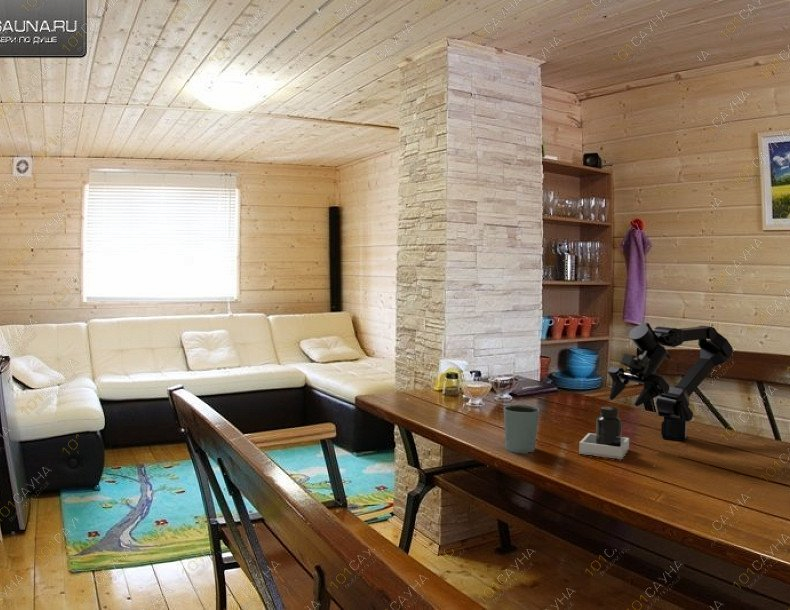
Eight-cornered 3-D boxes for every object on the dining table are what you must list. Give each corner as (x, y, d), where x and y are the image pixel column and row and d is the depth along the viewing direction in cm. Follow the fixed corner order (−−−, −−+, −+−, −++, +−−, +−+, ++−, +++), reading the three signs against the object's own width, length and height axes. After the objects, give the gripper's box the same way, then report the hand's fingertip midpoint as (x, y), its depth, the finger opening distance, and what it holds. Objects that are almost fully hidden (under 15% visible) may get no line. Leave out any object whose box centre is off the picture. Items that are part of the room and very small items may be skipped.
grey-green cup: (496, 446, 198) (497, 405, 197) (526, 442, 201) (527, 403, 200) (514, 455, 188) (515, 413, 187) (545, 451, 192) (546, 410, 191)
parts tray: (628, 449, 194) (629, 438, 193) (621, 460, 184) (622, 447, 183) (588, 444, 199) (588, 433, 199) (579, 454, 189) (579, 442, 189)
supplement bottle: (623, 453, 186) (624, 411, 185) (597, 453, 187) (598, 410, 186) (618, 447, 193) (619, 405, 192) (594, 446, 194) (594, 405, 193)
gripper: (612, 339, 204) (585, 379, 199) (664, 347, 188) (635, 391, 183) (629, 363, 208) (603, 402, 204) (681, 372, 192) (654, 415, 188)
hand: (622, 402), depth 195 cm, fingers open, 9 cm apart
